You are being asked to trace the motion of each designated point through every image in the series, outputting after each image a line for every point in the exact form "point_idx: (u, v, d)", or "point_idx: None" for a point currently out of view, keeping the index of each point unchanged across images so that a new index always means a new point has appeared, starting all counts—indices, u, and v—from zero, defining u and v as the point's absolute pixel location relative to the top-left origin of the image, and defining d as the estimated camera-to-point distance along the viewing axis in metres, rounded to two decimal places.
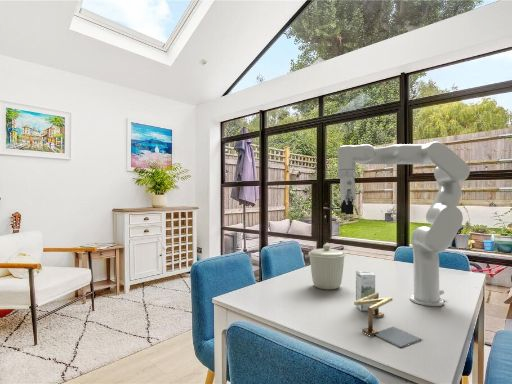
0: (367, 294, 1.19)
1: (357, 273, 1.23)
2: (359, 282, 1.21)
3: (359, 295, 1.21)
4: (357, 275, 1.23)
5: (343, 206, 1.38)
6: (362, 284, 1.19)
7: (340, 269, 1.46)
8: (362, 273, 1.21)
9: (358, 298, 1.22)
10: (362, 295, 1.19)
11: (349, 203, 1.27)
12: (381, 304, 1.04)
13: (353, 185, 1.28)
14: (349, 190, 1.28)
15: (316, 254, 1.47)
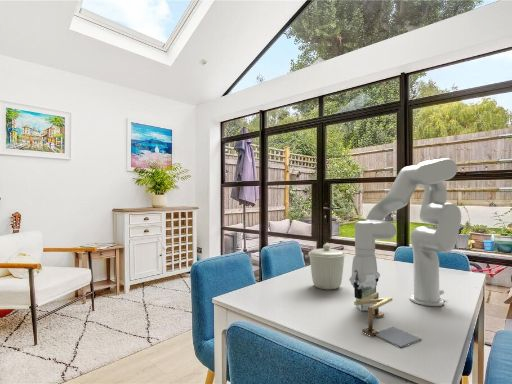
0: (367, 294, 1.19)
1: None
2: None
3: None
4: None
5: None
6: (362, 284, 1.19)
7: (340, 269, 1.46)
8: None
9: None
10: (362, 295, 1.19)
11: None
12: (381, 304, 1.04)
13: None
14: None
15: (316, 254, 1.47)
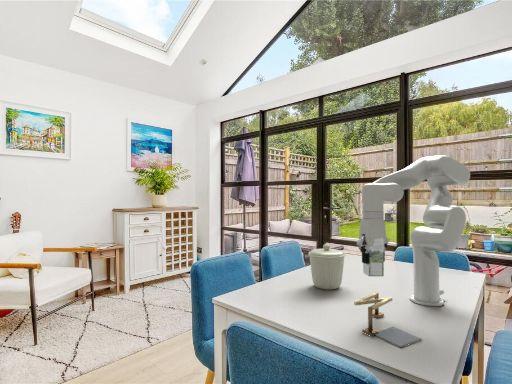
0: (376, 258, 1.14)
1: None
2: None
3: None
4: None
5: None
6: (370, 248, 1.14)
7: (340, 269, 1.46)
8: None
9: None
10: (370, 259, 1.14)
11: None
12: (381, 304, 1.04)
13: None
14: None
15: (316, 254, 1.47)
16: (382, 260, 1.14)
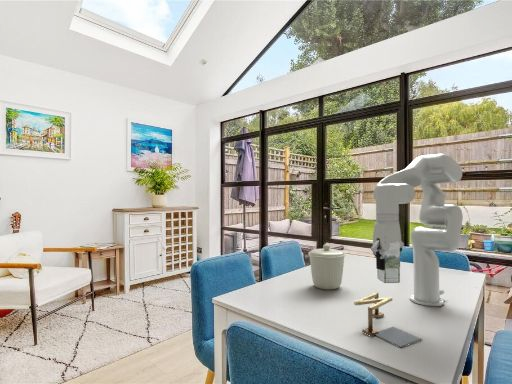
0: (391, 264, 1.07)
1: None
2: None
3: None
4: None
5: None
6: (385, 253, 1.07)
7: (340, 269, 1.46)
8: None
9: None
10: (385, 265, 1.07)
11: None
12: (381, 304, 1.04)
13: None
14: None
15: (316, 254, 1.47)
16: (398, 266, 1.07)
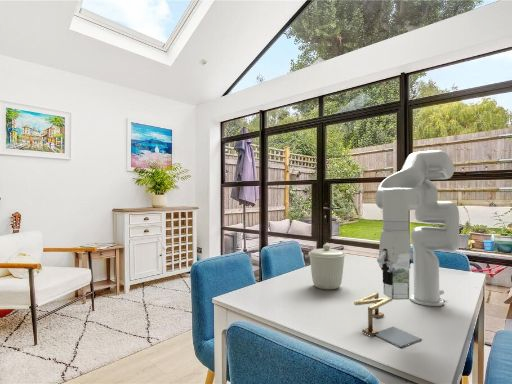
0: (400, 278, 0.95)
1: None
2: None
3: None
4: None
5: None
6: (393, 265, 0.95)
7: (340, 269, 1.46)
8: None
9: (387, 284, 0.97)
10: (393, 279, 0.95)
11: None
12: (381, 304, 1.04)
13: None
14: None
15: (316, 254, 1.47)
16: (408, 280, 0.95)
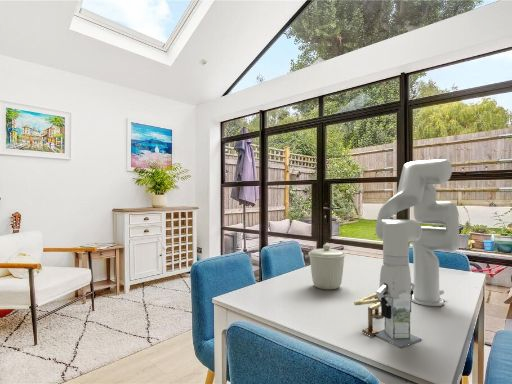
0: (401, 317, 0.95)
1: None
2: None
3: (390, 319, 0.96)
4: None
5: None
6: (394, 305, 0.95)
7: (340, 269, 1.46)
8: None
9: (388, 322, 0.97)
10: (394, 319, 0.95)
11: None
12: None
13: None
14: None
15: (316, 254, 1.47)
16: (409, 319, 0.95)
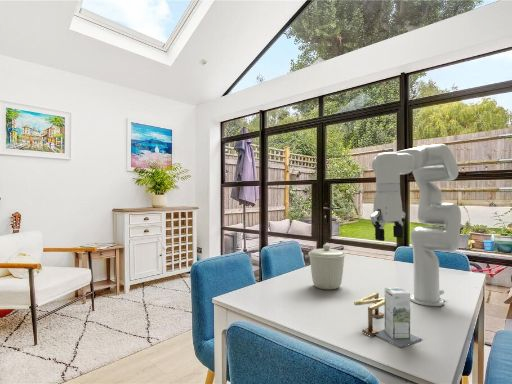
0: (401, 317, 0.95)
1: (386, 291, 0.99)
2: (390, 302, 0.96)
3: (390, 318, 0.96)
4: (386, 293, 0.99)
5: None
6: (394, 305, 0.95)
7: (340, 269, 1.46)
8: (393, 291, 0.96)
9: (388, 322, 0.97)
10: (394, 319, 0.95)
11: None
12: (381, 304, 1.04)
13: None
14: None
15: (316, 254, 1.47)
16: (409, 319, 0.95)
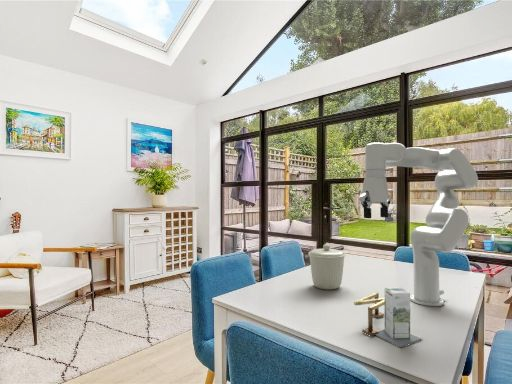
0: (401, 317, 0.95)
1: (386, 291, 0.99)
2: (390, 302, 0.96)
3: (390, 319, 0.96)
4: (386, 293, 0.99)
5: None
6: (394, 305, 0.95)
7: (340, 269, 1.46)
8: (393, 291, 0.96)
9: (388, 322, 0.97)
10: (394, 319, 0.95)
11: None
12: (381, 304, 1.04)
13: None
14: None
15: (316, 254, 1.47)
16: (409, 319, 0.95)
